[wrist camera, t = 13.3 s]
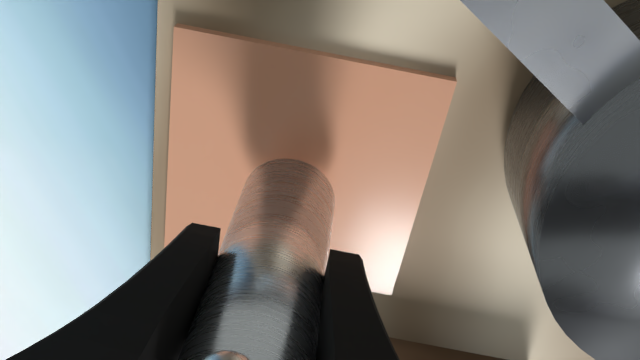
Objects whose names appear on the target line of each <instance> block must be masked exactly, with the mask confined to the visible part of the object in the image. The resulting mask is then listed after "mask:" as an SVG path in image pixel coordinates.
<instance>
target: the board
mask: <svg viewBox="0 0 640 360" xmlns="http://www.w3.org/2000/svg"><path fill="white" fill-rule="evenodd" d="M604 1H605V2H606V3H607V4H608V6H609V7H610V8H612V7H615V6H617V5H619V4H621V3H623V2H625V1H627V0H604ZM177 23H179V24H184V25H189V26H194V27H199V28H204V29H210V30H215V31H220V32H225V33H230V34H235V35H240V36H246V37H251V38H256V39H261V40H266V41H271V42H276V43H282V44H287V45H292V46H297V47H302V48H307V49H312V50H317V51H323V52H328V53H333V54H338V55H343V56H348V57H353V58H359V59H364V60H369V61H374V62H379V63H384V64H389V65H395V66H400V67H405V68H410V69H415V70H420V71H425V72H430V73H436V74H441V75H446V76H451V77H456V80H457V84H456V87H455V90H454V94H453V97H452V100H451V103H450V107H449V110H448V113H447V116H446V120H445V123H444V126H443V129H442V133H441V136H440V139H439V142H438V146H437V149H436V152H435V155H434V159H433V162H432V165H431V168H430V171H429V175H428V178H427V181H426V184H425V188H424V191H423V194H422V197H421V201H420V204H419V207H418V210H417V214H416V217H415V220H414V223H413V227H412V230H411V233H410V236H409V240H408V243H407V246H406V249H405V253H404V256H403V259H402V262H401V265H400V269H399V272H398V275H397V278H396V282H395V285H394V288H393V291H392V295H386V294H381V293H376V292H372V295H373V298H374V301H375V304H376V307H377V309H378V312H379V314H380V317H381V319H382V322H383V324H384V327H385V329H386V331H387V334H388V336H389V337H391V338H396V339H401V340H406V341H412V342H417V343H422V344H428V345H433V346H438V347H443V348H449V349H454V350H459V351H465V352H470V353H475V354H480V355H486V356H491V357H496V358H502V359H507V360H595V359H594V358H592V357H591V356H590V355H588V354H587V353H585V352H584V351H583V350H581V349H580V348H579V347H578V346H577V345H576V344H575V343H574V342H573V341H572V340H571V339H570V338H569V337H568V336H567V335H566V334H565V333H564V331H563V330H562V329H561V327H560V326H559V325H558V323H557V322H556V321H555V319H554V317H553V315H552V313H551V311H550V309H549V307H548V305H547V303H546V300H545V297H544V294H543V291H542V289H541V286H540V283H539V280H538V277H537V274H536V271H535V268H534V266H533V263H532V260H531V257H530V254H529V251H528V248H527V245H526V243H525V240H524V237H523V234H522V231H521V228H520V225H519V222H518V220H517V217H516V214H515V211H514V208H513V205H512V202H511V199H510V196H509V193H508V189H507V186H506V181H505V173H504V147H505V142H506V136H507V131H508V127H509V124H510V121H511V118H512V115H513V112H514V110H515V108H516V106H517V104H518V102H519V99H520V97H521V95H522V93H523V91H524V90H525V88H526V87H527V85H528V84H529V82H530V81H531V79H532V78H533V76H534V74H533V73H532V72H531V71H530V70H529V69H528V68H527V67H526V66H525V65H524V64H523V63H522V62H521V61H520V60H519V59H518V58H517V57H516V56H515V55H514V54H513V53H512V52H511V51H510V50H509V49H508V48H507V47H506V46H505V45H504V44H503V43H502V42H501V41H500V40H499V39H498V38H497V37H496V36H495V35H494V34H493V33H492V32H491V31H490V30H489V29H488V28H487V27H486V26H485V25H484V24H483V23H482V22H481V21H480V20H479V19H478V18H477V17H476V16H475V15H474V14H473V13H472V12H471V11H470V10H469V9H468V8H467V7H466V6H465V5H464V4H463V3H462V2H461V1H460V0H158V13H157V48H156V83H155V118H154V153H153V187H152V222H151V257H150V261H151V260H152V259H153V258H154V257H155V256H156V255H157V254H159V253H160V252H161V251H162V250H163V249H164V239H165V216H166V193H167V170H168V147H169V124H170V101H171V78H172V55H173V32H174V26H175V25H176V24H177Z"/></svg>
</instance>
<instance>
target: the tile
mask: <svg viewBox="0 0 640 360" xmlns="http://www.w3.org/2000/svg"><path fill="white" fill-rule="evenodd" d="M456 84H457V80H456V77H451V76H446V75H441V74H436V73H430V72H425V71H420V70H415V69H410V68H405V67H400V66H395V65H389V64H384V63H379V62H374V61H369V60H364V59H359V58H353V57H348V56H343V55H338V54H333V53H328V52H323V51H317V50H312V49H307V48H302V47H297V46H292V45H287V44H282V43H276V42H271V41H266V40H261V39H256V38H251V37H246V36H240V35H235V34H230V33H225V32H220V31H215V30H210V29H204V28H199V27H194V26H189V25H184V24H179V23H177V24H176V25H175V26H174V32H173V55H172V78H171V101H170V124H169V147H168V170H167V193H166V216H165V239H164V248H165V247H166V246H167V245H168V244H169V243H170V242H171V241H172V240H173V239H174V238H175V237H176V236H177V235H178V234H179V233H180V232H181V231H182V230H183V229H184V228H185V227H186V226H188V225H189V224H191V223H196V224H202V225H207V226H212V227H217V228H221V231H220V240H219V250H220V247H221V245H222V242H223V240H224V237H225V234H226V232H227V229H228V226H229V224H230V221H231V219H232V216H233V213H234V211H235V208H236V205H237V203H238V200H239V198H240V195H241V192H242V190H243V187H244V184H245V182H246V180H247V178H248V176H249V175H250V174H251V173H252V171H253V170H254V169H256V168H257V167H258V166H260V165H261V164H263V163H265V162H268V161H271V160H275V159H283V158H288V159H296V160H300V161H303V162H306V163H308V164H310V165H312V166H314V167H315V168H317V169H318V170H319V171H321V172H322V173H323V174H324V175H325V176H326V178H327V179H328V180H329V182H330V184H331V186H332V188H333V191H334V195H335V207H334V215H333V223H332V231H331V239H330V248H329V252H330V249H333V250H338V251H343V252H348V253H354V254H359V255H360V257H361V258H362V260H363V264H364V268H365V272H366V276H367V280H368V283H369V286H370V289H371V292H376V293H381V294H386V295H392V291H393V288H394V285H395V282H396V278H397V275H398V272H399V269H400V265H401V262H402V259H403V256H404V253H405V249H406V246H407V243H408V240H409V236H410V233H411V230H412V227H413V223H414V220H415V217H416V214H417V210H418V207H419V204H420V201H421V197H422V194H423V191H424V188H425V184H426V181H427V178H428V175H429V171H430V168H431V165H432V162H433V159H434V155H435V152H436V149H437V146H438V142H439V139H440V136H441V133H442V129H443V126H444V123H445V120H446V116H447V113H448V110H449V107H450V103H451V100H452V97H453V94H454V90H455V87H456ZM219 250H218V253H219ZM328 257H329V256H328Z"/></svg>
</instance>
